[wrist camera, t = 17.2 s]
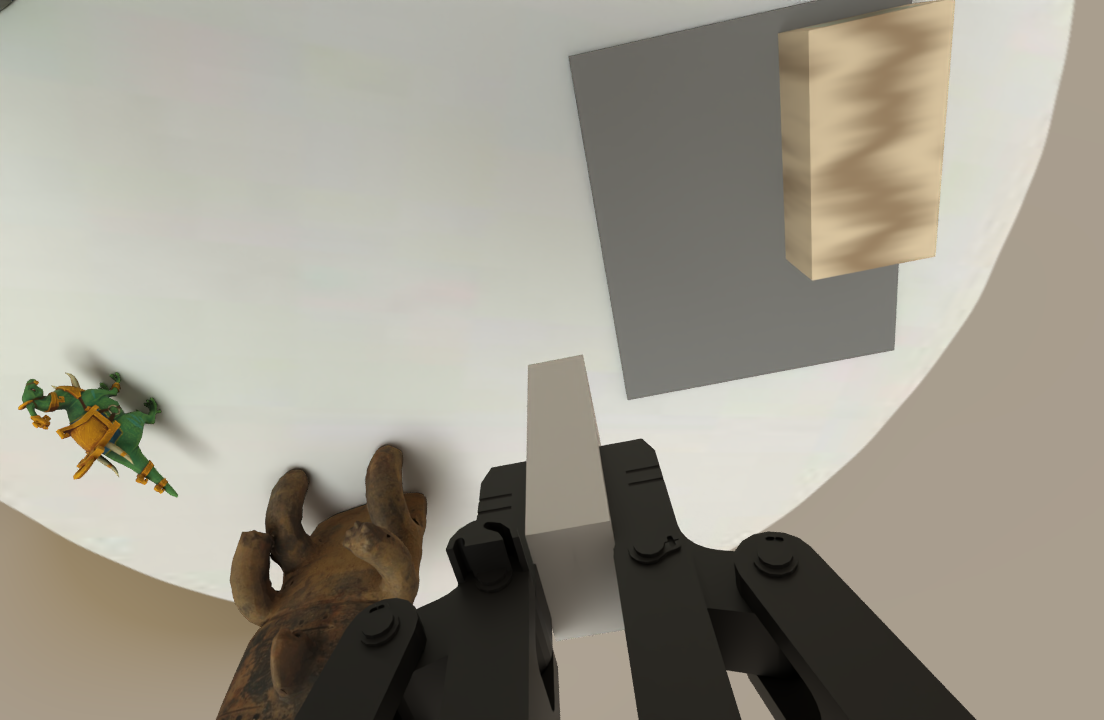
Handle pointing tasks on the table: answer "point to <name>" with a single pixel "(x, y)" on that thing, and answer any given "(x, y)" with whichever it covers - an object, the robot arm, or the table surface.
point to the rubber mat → (712, 209)
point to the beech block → (864, 137)
